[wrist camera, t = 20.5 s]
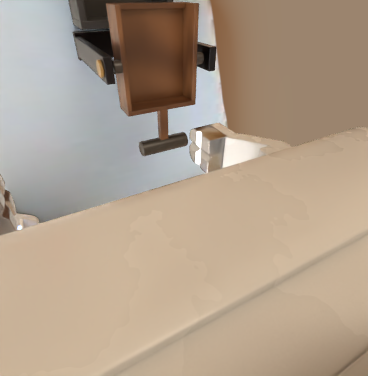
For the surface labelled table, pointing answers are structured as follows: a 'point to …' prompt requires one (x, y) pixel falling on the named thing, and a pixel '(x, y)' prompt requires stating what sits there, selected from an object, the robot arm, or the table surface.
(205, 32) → the table surface
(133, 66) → the brown tilting tray
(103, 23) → the basket
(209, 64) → the stand
